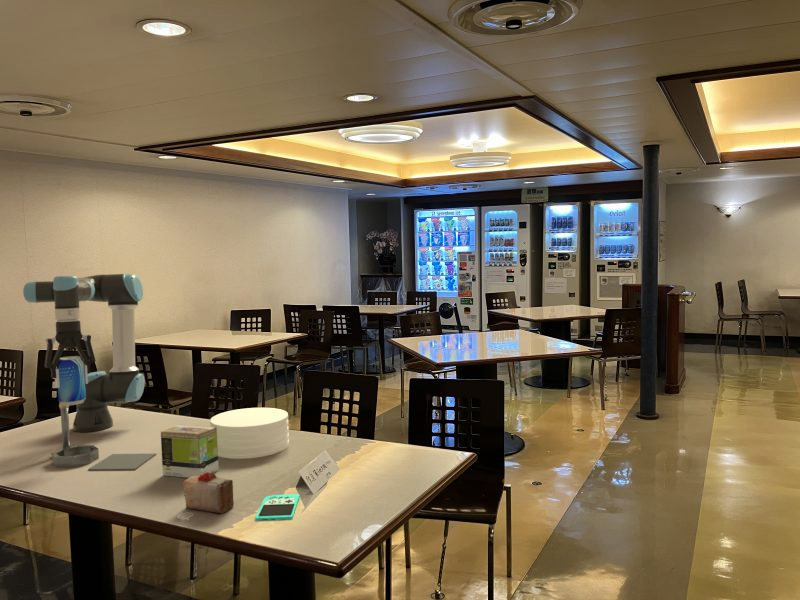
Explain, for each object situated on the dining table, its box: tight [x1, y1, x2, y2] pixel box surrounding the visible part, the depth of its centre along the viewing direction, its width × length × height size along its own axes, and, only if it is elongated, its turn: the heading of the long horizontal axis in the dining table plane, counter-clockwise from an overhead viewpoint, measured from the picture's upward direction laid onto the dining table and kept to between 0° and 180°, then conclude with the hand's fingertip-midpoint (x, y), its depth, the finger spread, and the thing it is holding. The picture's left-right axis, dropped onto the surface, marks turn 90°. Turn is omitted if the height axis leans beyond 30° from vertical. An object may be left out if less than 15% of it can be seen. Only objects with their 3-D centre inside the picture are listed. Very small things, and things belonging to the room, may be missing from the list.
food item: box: [182, 471, 235, 514], centre depth 171 cm, size 14×8×10 cm, turn 68°
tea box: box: [160, 423, 219, 479], centre depth 200 cm, size 15×10×15 cm
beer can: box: [56, 355, 86, 406], centre depth 213 cm, size 8×8×16 cm
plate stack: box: [209, 407, 290, 460], centre depth 227 cm, size 28×28×12 cm
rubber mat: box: [87, 453, 157, 471], centre depth 212 cm, size 16×16×1 cm
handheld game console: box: [255, 493, 300, 521], centre depth 170 cm, size 10×16×1 cm, turn 2°
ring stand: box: [51, 402, 100, 469], centre depth 217 cm, size 18×18×20 cm
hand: (71, 385), depth 213 cm, fingers closed on beer can, 8 cm apart
